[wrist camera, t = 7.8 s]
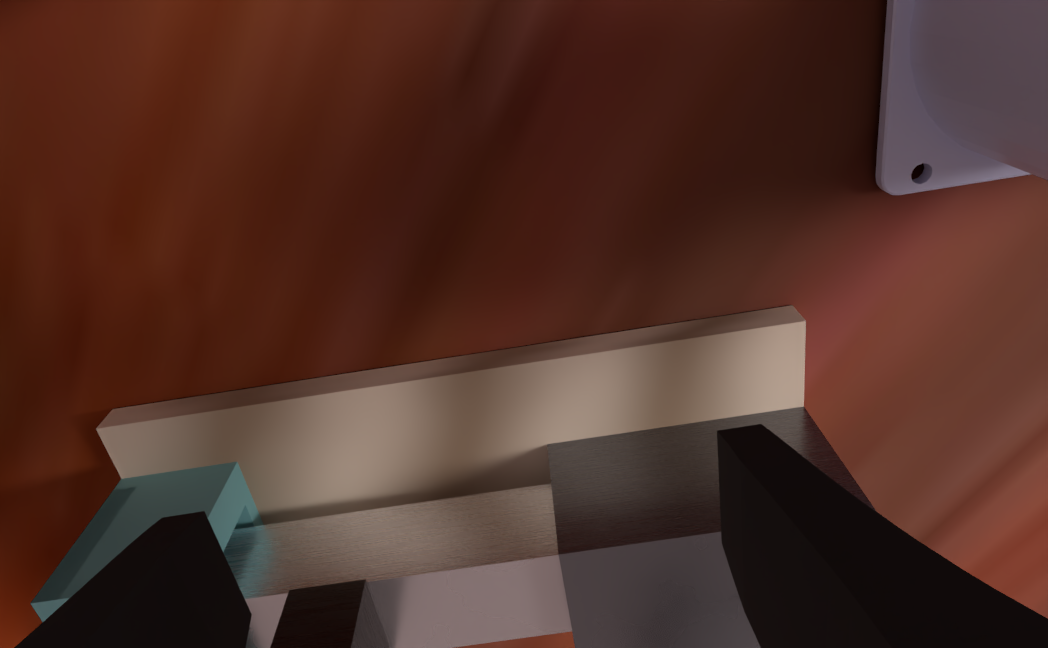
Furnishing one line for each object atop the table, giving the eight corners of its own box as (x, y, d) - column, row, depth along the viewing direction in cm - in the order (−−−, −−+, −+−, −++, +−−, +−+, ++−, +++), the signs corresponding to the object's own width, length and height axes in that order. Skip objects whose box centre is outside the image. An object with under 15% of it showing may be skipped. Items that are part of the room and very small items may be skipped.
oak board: (792, 305, 20) (805, 321, 19) (788, 563, 25) (799, 585, 24) (112, 409, 21) (95, 428, 20) (227, 640, 26) (217, 665, 25)
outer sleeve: (803, 406, 21) (874, 509, 17) (800, 521, 23) (864, 638, 19) (547, 444, 21) (558, 554, 17) (566, 554, 23) (580, 676, 19)
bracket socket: (237, 461, 21) (173, 582, 17) (301, 614, 24) (260, 750, 20) (121, 478, 21) (30, 603, 17) (199, 629, 24) (137, 767, 20)
